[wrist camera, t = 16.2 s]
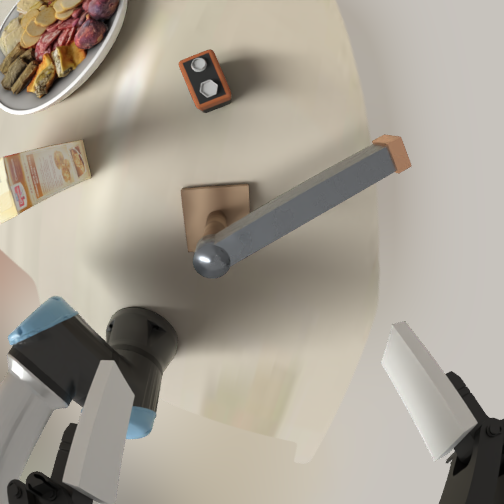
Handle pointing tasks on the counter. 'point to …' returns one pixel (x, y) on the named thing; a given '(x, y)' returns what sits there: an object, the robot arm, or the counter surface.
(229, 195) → the arm post
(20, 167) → the coffeecake box
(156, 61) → the counter surface
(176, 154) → the counter surface
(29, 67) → the bowl
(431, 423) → the robot arm
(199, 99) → the battery
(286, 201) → the swing arm
